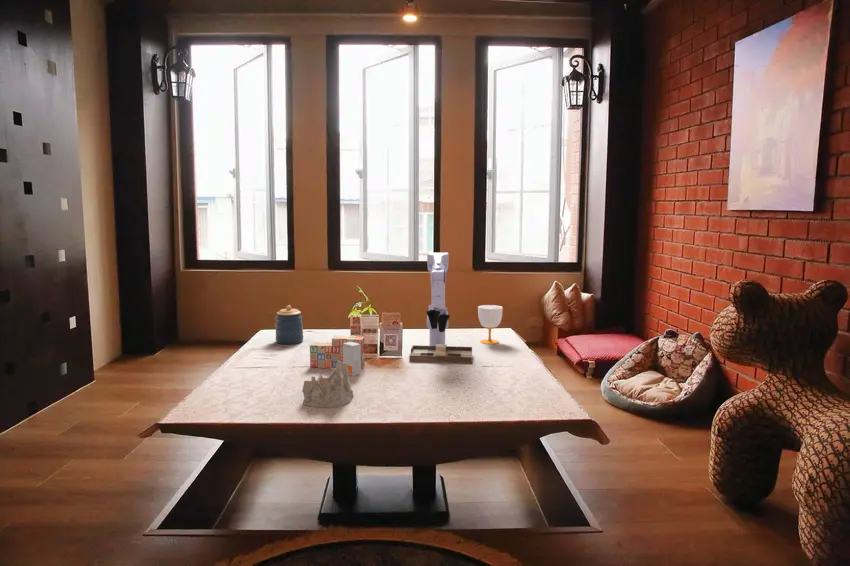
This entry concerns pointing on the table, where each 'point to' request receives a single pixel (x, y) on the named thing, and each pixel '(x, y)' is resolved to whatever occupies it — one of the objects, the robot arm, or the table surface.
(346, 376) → the ceramic cottage
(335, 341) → the stack of blocks
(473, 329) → the table surface
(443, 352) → the maple block
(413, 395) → the table surface
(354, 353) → the skincare box
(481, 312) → the cup
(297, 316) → the canister
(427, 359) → the trap box
